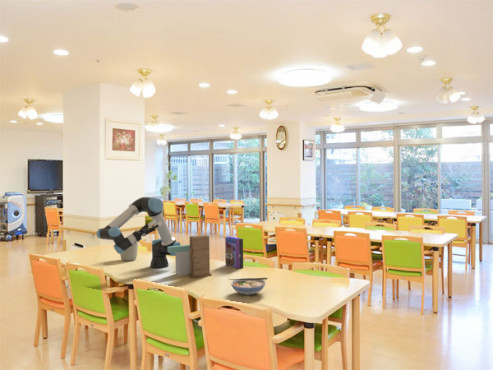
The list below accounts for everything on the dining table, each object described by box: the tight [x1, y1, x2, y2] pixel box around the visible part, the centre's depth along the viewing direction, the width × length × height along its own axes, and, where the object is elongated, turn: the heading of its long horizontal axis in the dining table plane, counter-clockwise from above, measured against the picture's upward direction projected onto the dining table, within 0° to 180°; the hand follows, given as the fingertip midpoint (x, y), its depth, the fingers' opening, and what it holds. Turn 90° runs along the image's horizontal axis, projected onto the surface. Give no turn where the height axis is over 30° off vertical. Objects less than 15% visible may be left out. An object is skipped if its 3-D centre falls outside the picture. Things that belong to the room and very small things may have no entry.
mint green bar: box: [167, 244, 190, 253], centre depth 311 cm, size 4×24×4 cm, turn 121°
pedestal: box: [187, 234, 212, 279], centre depth 306 cm, size 9×15×30 cm, turn 121°
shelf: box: [174, 251, 190, 277], centre depth 314 cm, size 8×20×18 cm, turn 121°
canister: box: [119, 241, 140, 262], centre depth 368 cm, size 18×18×21 cm
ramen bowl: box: [228, 277, 268, 296], centre depth 257 cm, size 25×23×8 cm
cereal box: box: [224, 236, 244, 270], centre depth 335 cm, size 17×5×24 cm, turn 41°
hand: (158, 221), depth 304 cm, fingers open, 13 cm apart
